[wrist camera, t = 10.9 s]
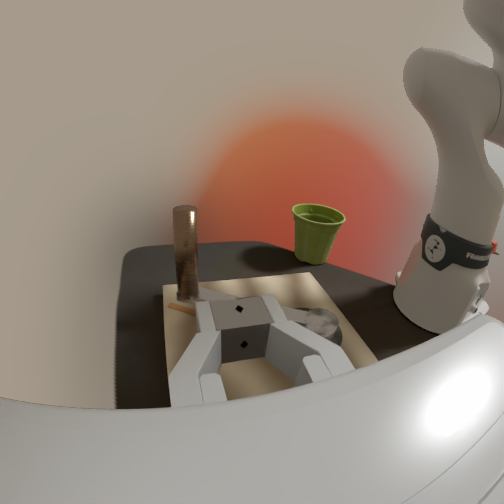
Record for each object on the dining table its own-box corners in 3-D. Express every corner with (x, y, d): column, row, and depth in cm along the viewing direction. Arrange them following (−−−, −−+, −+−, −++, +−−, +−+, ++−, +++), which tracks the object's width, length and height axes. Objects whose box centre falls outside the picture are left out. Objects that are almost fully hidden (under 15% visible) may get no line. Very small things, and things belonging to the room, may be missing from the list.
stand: (307, 280, 43) (309, 271, 43) (378, 375, 27) (383, 366, 26) (164, 293, 37) (162, 284, 37) (174, 423, 21) (172, 415, 20)
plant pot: (345, 266, 48) (356, 221, 44) (302, 274, 45) (311, 225, 41) (317, 243, 56) (324, 202, 52) (276, 248, 52) (282, 204, 48)
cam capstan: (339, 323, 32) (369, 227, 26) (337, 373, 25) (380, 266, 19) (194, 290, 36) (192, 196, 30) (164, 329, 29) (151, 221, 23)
